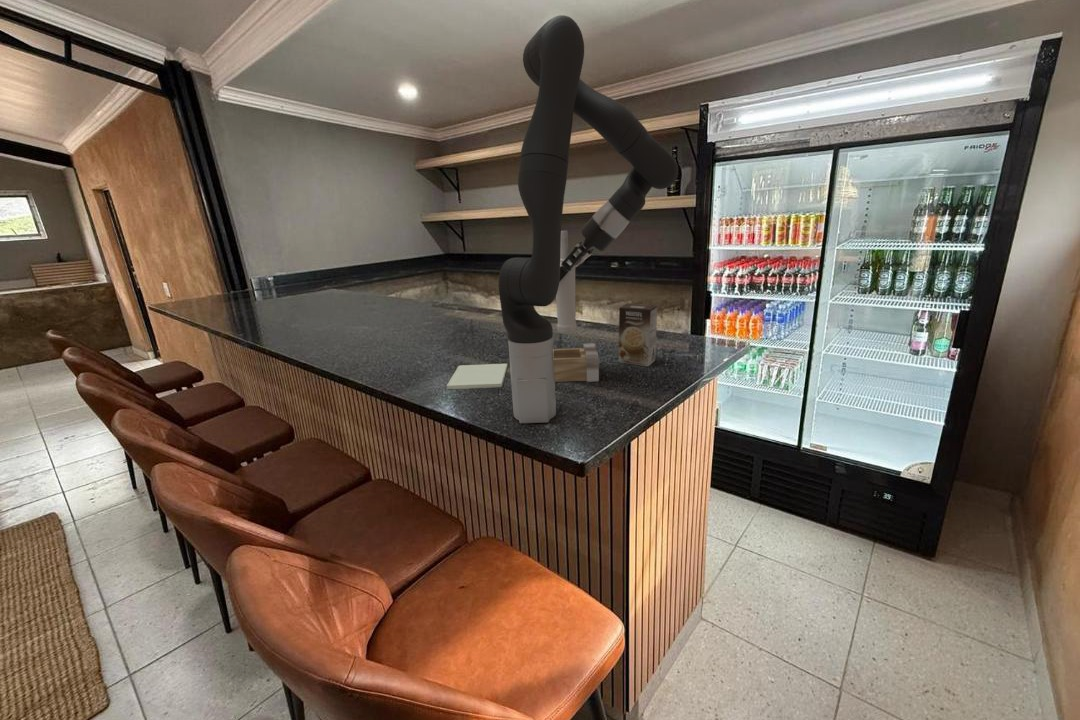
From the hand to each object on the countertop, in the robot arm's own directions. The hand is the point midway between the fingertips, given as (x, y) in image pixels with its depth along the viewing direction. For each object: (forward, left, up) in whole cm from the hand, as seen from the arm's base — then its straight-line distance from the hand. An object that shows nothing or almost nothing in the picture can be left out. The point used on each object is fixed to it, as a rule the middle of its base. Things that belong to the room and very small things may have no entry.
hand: (558, 278), depth 112 cm
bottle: (-1, -2, -14) cm, 14 cm away
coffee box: (+9, -22, -26) cm, 35 cm away
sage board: (+1, +22, -26) cm, 34 cm away
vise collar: (0, -2, -26) cm, 26 cm away
